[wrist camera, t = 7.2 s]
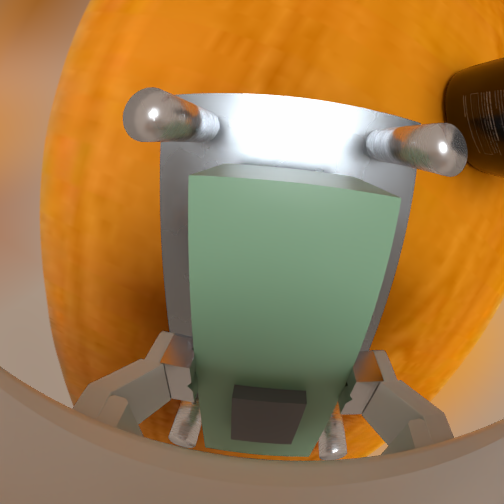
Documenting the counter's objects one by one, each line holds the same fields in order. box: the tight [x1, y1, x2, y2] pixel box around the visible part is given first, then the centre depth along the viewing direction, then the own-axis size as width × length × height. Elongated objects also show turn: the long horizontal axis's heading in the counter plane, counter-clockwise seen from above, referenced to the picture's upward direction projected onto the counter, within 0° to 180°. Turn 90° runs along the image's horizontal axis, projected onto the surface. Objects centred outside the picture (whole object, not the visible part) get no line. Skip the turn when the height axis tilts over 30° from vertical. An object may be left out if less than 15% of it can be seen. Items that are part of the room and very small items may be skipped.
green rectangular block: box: [188, 164, 401, 457], centre depth 10 cm, size 12×5×5 cm, turn 176°
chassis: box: [123, 87, 468, 460], centre depth 12 cm, size 19×13×7 cm
